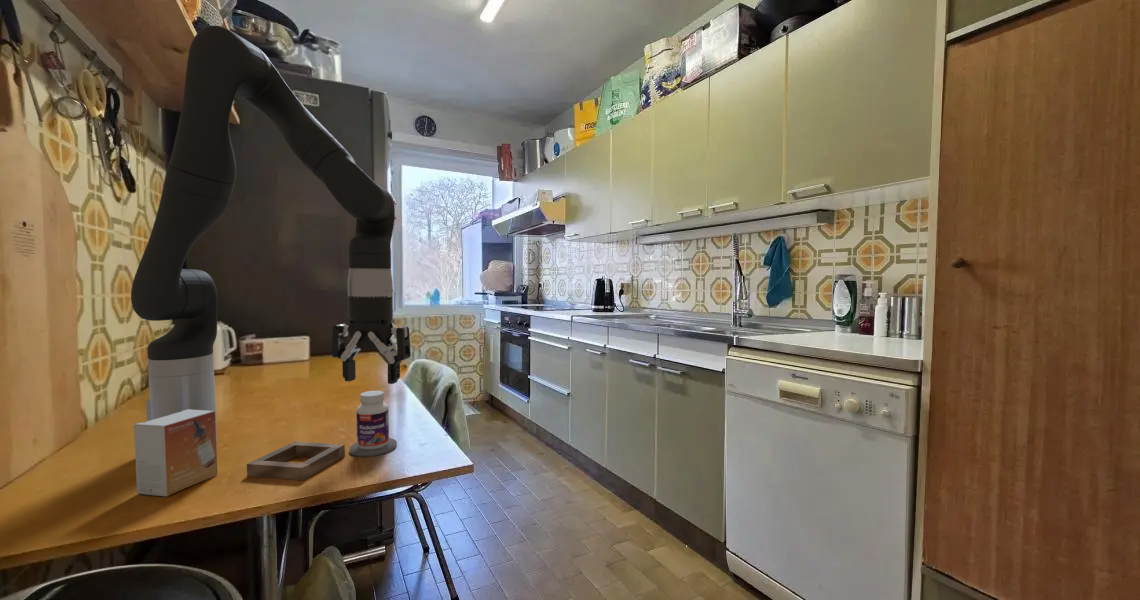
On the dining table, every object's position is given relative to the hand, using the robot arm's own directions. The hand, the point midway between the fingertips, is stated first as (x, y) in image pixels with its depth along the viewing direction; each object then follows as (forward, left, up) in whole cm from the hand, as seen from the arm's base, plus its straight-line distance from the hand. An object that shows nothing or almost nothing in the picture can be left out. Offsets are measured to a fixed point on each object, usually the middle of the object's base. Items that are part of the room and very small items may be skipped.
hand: (371, 381), depth 84 cm
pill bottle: (0, 0, -12) cm, 12 cm away
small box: (-21, -18, -13) cm, 30 cm away
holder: (-8, -9, -12) cm, 17 cm away
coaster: (0, 0, -12) cm, 12 cm away
